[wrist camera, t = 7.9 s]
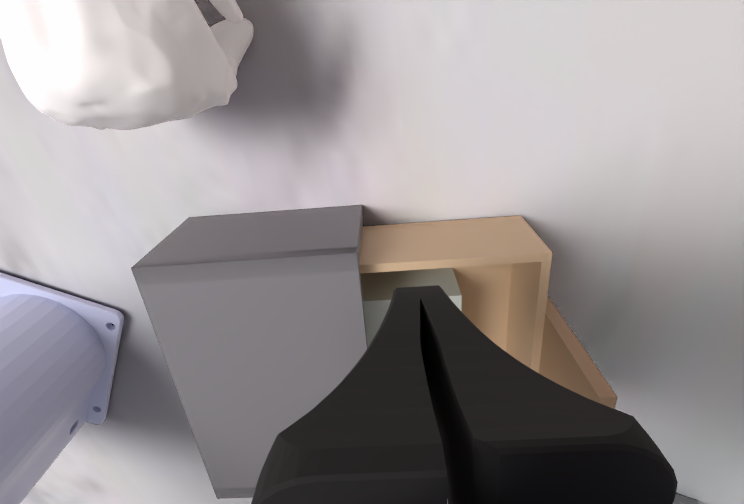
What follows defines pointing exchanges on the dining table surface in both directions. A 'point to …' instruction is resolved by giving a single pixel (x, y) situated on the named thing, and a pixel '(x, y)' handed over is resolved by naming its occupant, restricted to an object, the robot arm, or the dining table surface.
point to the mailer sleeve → (255, 326)
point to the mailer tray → (482, 290)
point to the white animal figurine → (123, 58)
